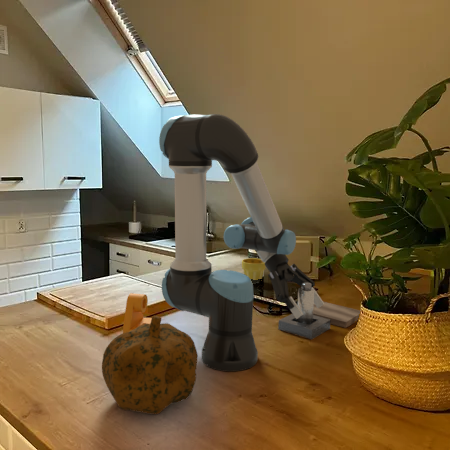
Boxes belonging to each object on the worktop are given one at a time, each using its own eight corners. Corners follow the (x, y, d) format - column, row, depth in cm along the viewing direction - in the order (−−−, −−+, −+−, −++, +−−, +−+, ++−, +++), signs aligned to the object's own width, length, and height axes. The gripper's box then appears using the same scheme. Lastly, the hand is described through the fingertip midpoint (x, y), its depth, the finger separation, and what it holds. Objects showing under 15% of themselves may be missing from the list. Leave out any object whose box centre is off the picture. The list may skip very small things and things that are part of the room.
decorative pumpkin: (107, 374, 110) (113, 296, 106) (193, 380, 112) (201, 304, 108) (88, 426, 90) (94, 333, 87) (193, 432, 92) (203, 341, 88)
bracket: (145, 340, 133) (145, 301, 132) (123, 337, 135) (122, 298, 133) (158, 326, 144) (158, 290, 142) (137, 324, 145) (136, 288, 143)
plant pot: (256, 287, 190) (257, 264, 188) (236, 282, 196) (237, 260, 194) (269, 282, 198) (270, 260, 196) (250, 278, 204) (250, 257, 202)
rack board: (345, 328, 146) (346, 322, 146) (295, 314, 158) (295, 308, 158) (363, 317, 157) (363, 311, 157) (314, 304, 169) (314, 299, 169)
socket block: (311, 339, 136) (312, 330, 136) (278, 329, 144) (278, 320, 143) (330, 328, 145) (330, 319, 145) (297, 319, 153) (298, 311, 152)
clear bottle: (307, 333, 141) (309, 286, 139) (293, 329, 144) (295, 283, 142) (315, 328, 145) (317, 283, 143) (301, 324, 148) (303, 280, 146)
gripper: (286, 257, 161) (321, 307, 154) (243, 270, 142) (282, 327, 135) (299, 245, 157) (336, 296, 150) (258, 256, 138) (298, 315, 131)
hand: (311, 311), depth 143 cm, fingers open, 13 cm apart
